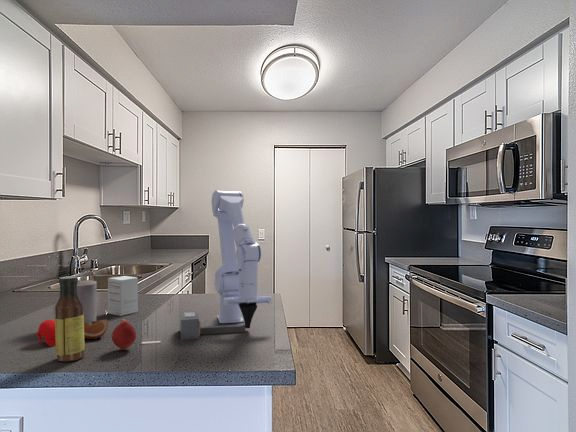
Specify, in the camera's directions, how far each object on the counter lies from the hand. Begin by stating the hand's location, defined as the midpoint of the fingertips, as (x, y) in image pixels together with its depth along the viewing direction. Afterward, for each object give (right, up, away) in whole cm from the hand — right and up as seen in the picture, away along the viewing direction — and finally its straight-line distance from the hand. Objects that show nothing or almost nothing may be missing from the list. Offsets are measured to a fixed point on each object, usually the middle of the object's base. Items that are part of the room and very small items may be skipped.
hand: (247, 327), depth 129 cm
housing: (-17, -1, -5) cm, 17 cm away
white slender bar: (-25, -1, -14) cm, 29 cm away
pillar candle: (-53, -1, +3) cm, 53 cm away
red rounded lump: (-30, -1, -20) cm, 36 cm away
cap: (-52, -1, -14) cm, 54 cm away
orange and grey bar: (-9, -1, -2) cm, 10 cm away
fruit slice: (-43, -1, -10) cm, 44 cm away
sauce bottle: (-41, -1, -27) cm, 49 cm away
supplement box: (-47, -1, +22) cm, 51 cm away
